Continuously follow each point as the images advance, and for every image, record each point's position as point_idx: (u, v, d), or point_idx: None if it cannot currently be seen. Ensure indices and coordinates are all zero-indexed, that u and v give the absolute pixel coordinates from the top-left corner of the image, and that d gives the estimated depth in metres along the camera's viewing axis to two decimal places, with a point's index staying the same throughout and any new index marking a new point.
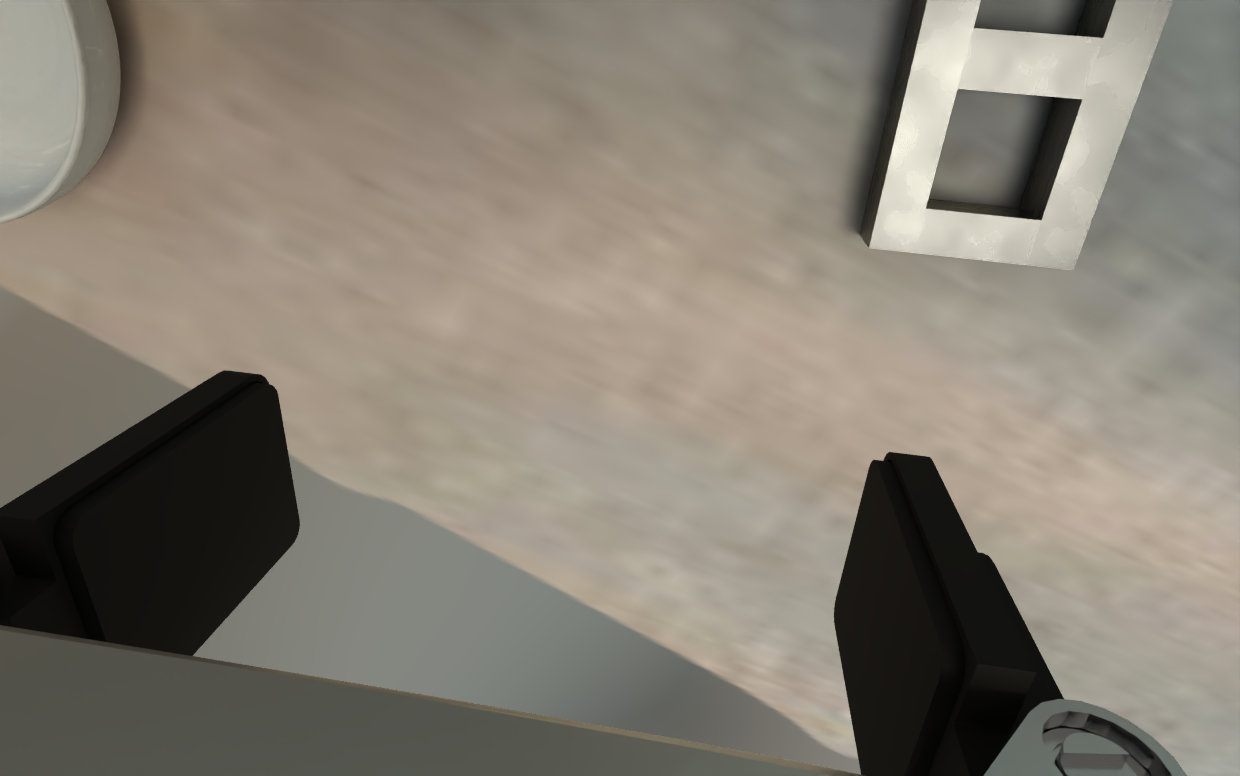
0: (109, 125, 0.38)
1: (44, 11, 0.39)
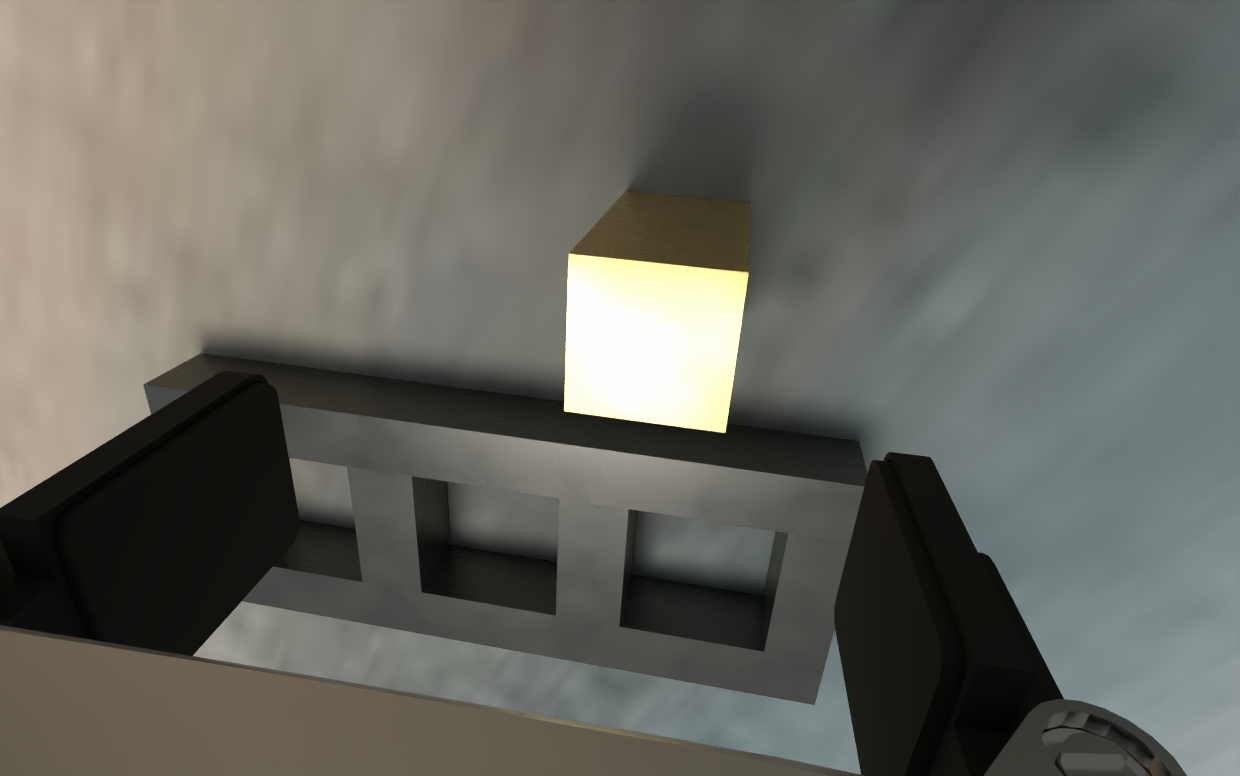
0: None
1: None
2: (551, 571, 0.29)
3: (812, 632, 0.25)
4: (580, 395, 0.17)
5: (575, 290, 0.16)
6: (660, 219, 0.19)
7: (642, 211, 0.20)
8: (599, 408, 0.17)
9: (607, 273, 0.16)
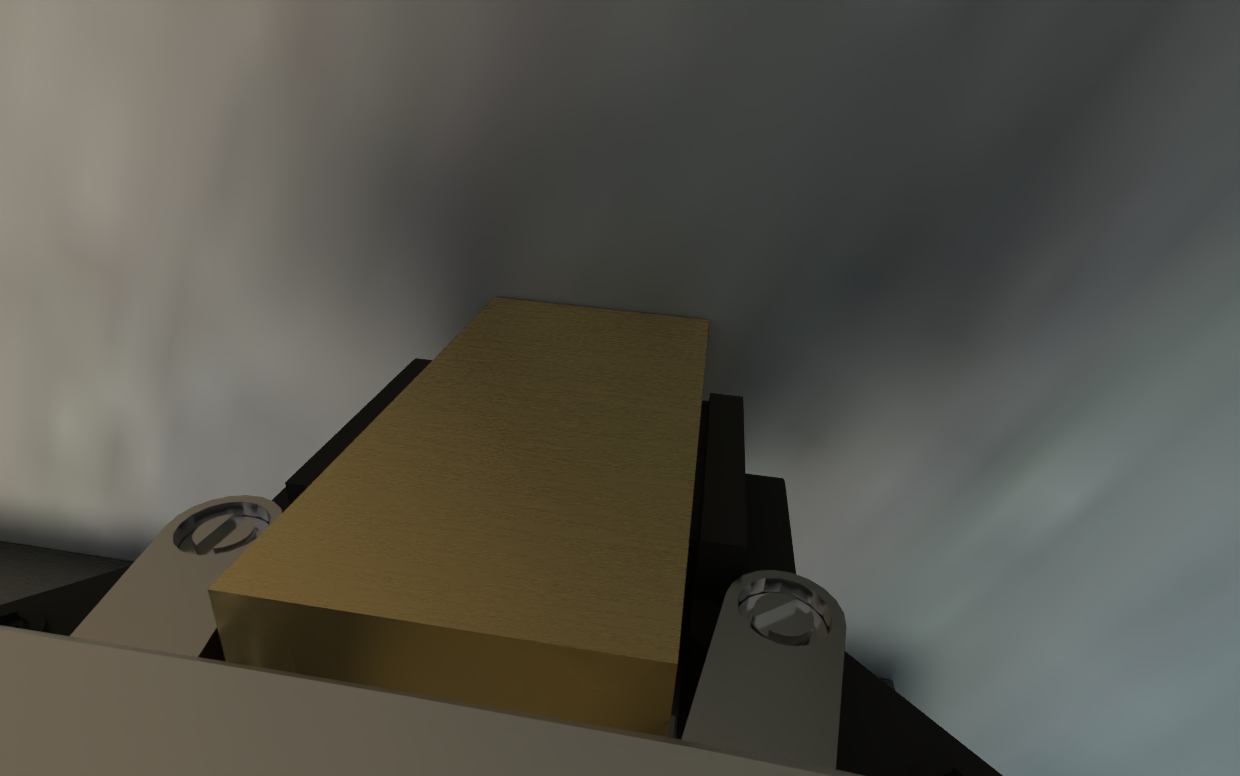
0: None
1: None
2: None
3: None
4: None
5: (245, 663, 0.06)
6: (523, 391, 0.10)
7: (497, 363, 0.10)
8: None
9: (313, 637, 0.06)
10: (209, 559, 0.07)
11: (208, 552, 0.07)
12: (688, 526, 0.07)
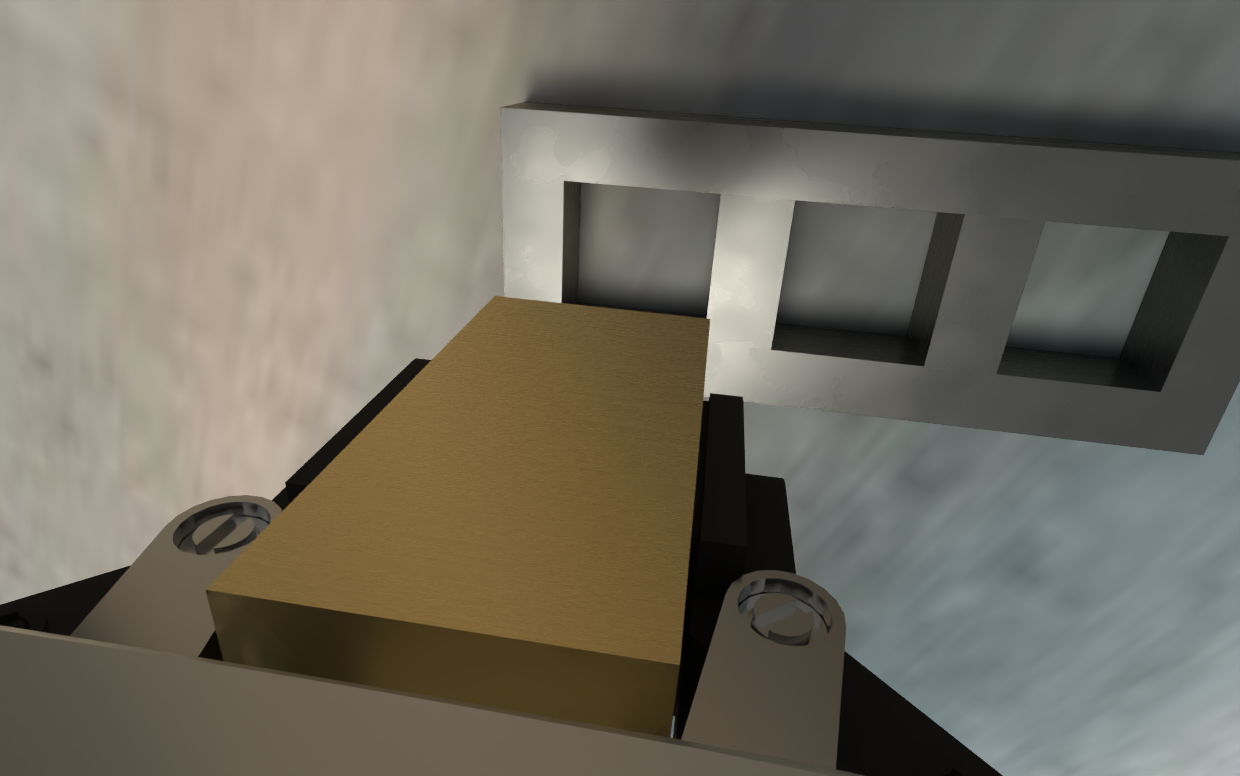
0: None
1: None
2: (888, 339, 0.28)
3: (1225, 362, 0.24)
4: None
5: (243, 664, 0.06)
6: (523, 391, 0.10)
7: (497, 362, 0.10)
8: None
9: (311, 638, 0.06)
10: (209, 559, 0.07)
11: (208, 552, 0.07)
12: (689, 526, 0.07)
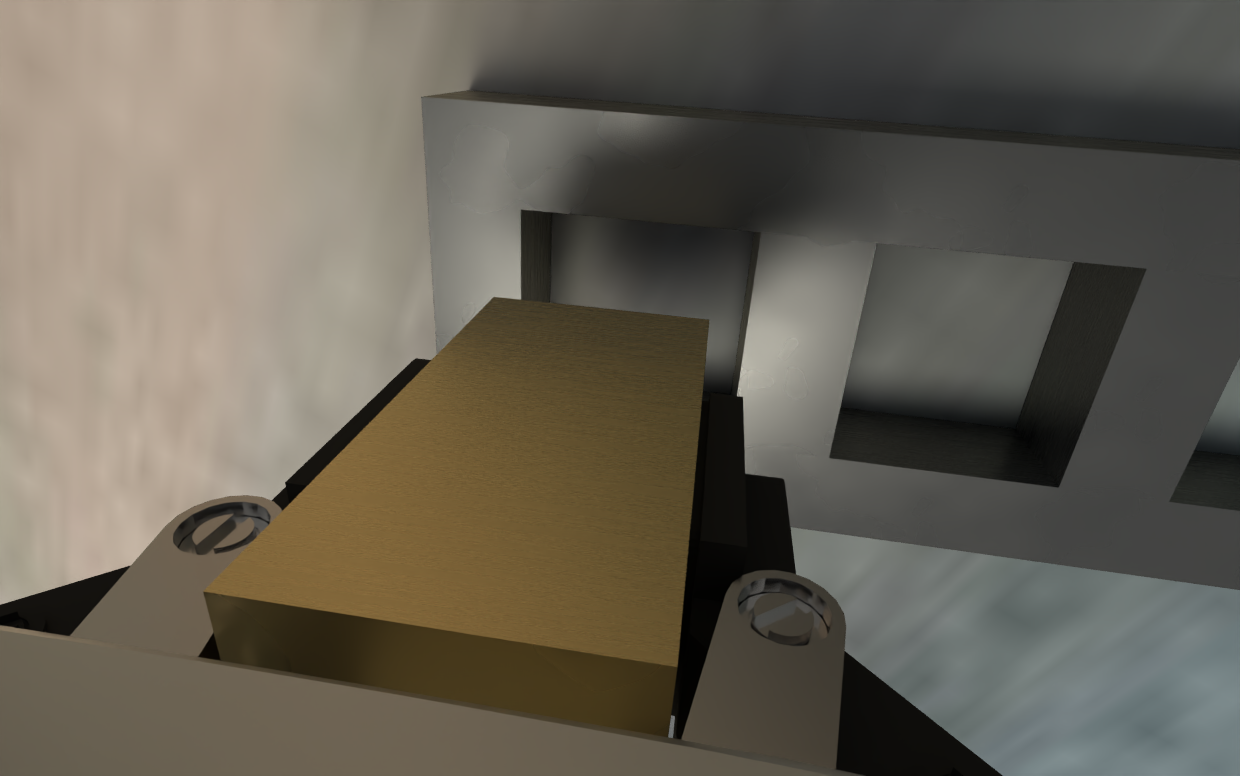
0: None
1: None
2: (992, 435, 0.19)
3: None
4: None
5: None
6: (522, 392, 0.10)
7: (496, 363, 0.10)
8: None
9: (309, 639, 0.06)
10: (210, 559, 0.07)
11: (209, 552, 0.07)
12: (688, 528, 0.07)
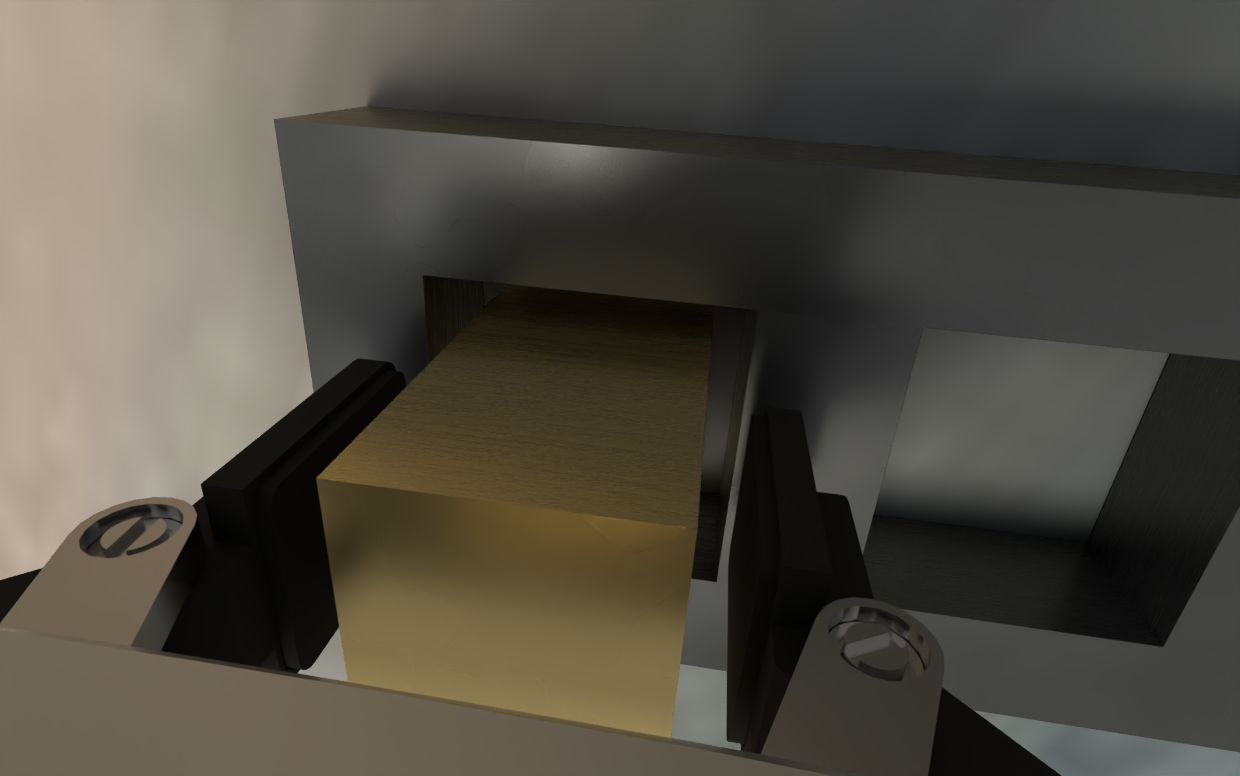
0: None
1: None
2: (1059, 555, 0.15)
3: None
4: None
5: (342, 544, 0.08)
6: (554, 343, 0.11)
7: (530, 322, 0.12)
8: None
9: (400, 518, 0.07)
10: (123, 561, 0.07)
11: (120, 555, 0.07)
12: (702, 439, 0.09)
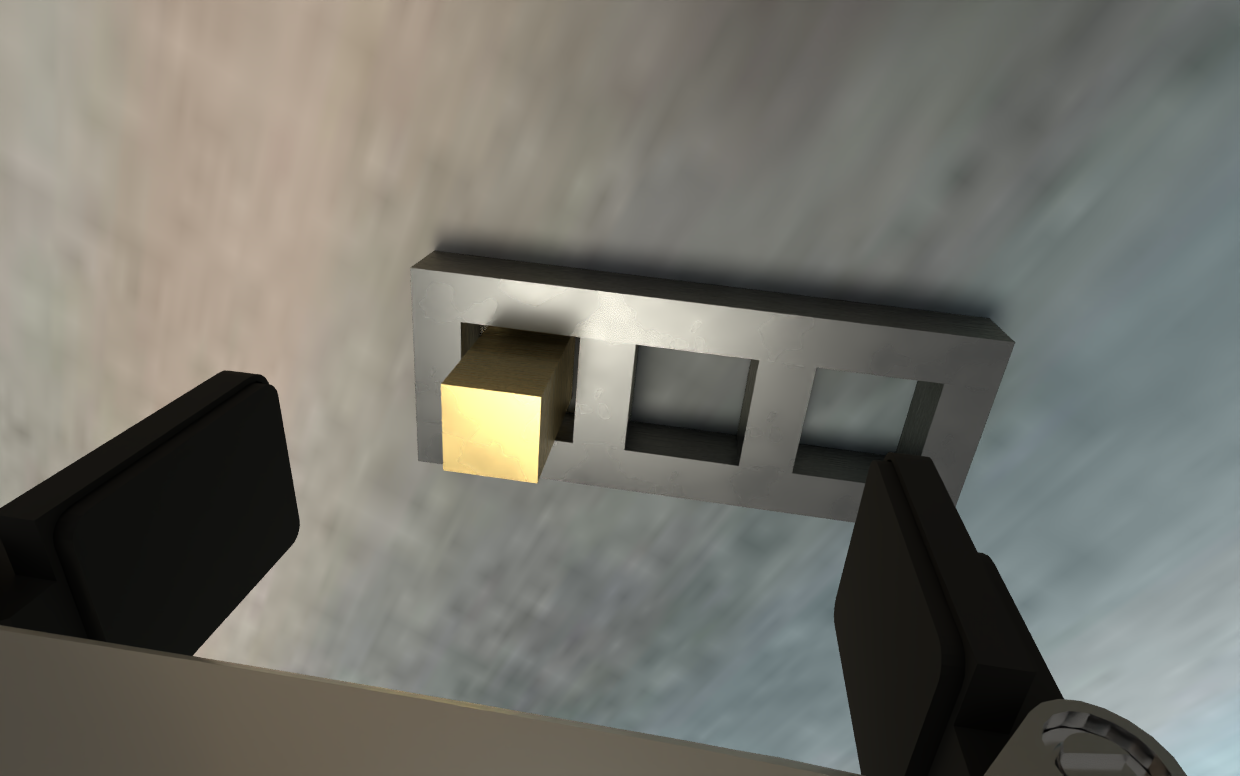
0: None
1: None
2: (721, 438, 0.35)
3: (952, 469, 0.32)
4: (452, 461, 0.29)
5: (445, 403, 0.28)
6: (508, 348, 0.31)
7: (499, 339, 0.32)
8: (463, 468, 0.29)
9: (463, 395, 0.28)
10: None
11: None
12: (549, 377, 0.29)
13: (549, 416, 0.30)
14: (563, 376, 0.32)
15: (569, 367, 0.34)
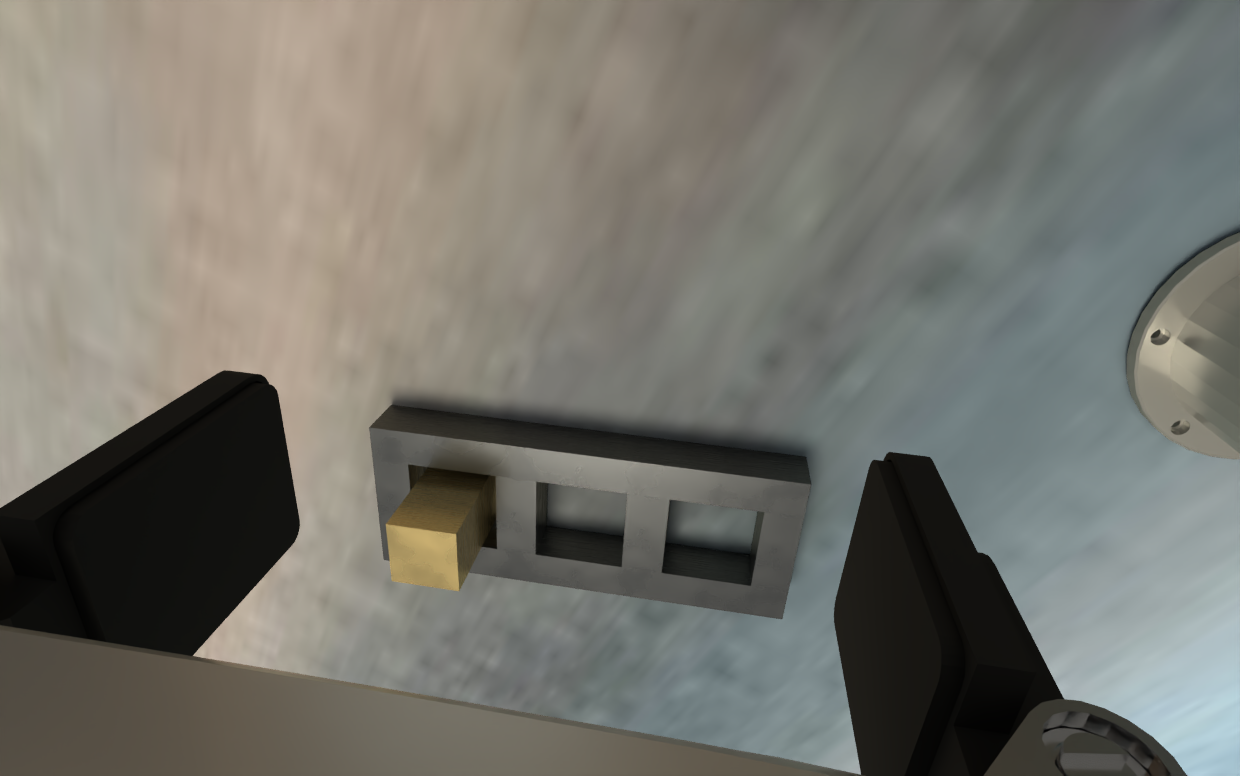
0: None
1: None
2: (614, 541, 0.46)
3: (780, 572, 0.42)
4: (397, 575, 0.40)
5: (390, 537, 0.39)
6: (442, 484, 0.42)
7: (437, 476, 0.43)
8: (406, 580, 0.40)
9: (401, 531, 0.38)
10: None
11: None
12: (466, 514, 0.40)
13: (469, 539, 0.41)
14: (486, 502, 0.43)
15: (494, 491, 0.45)
